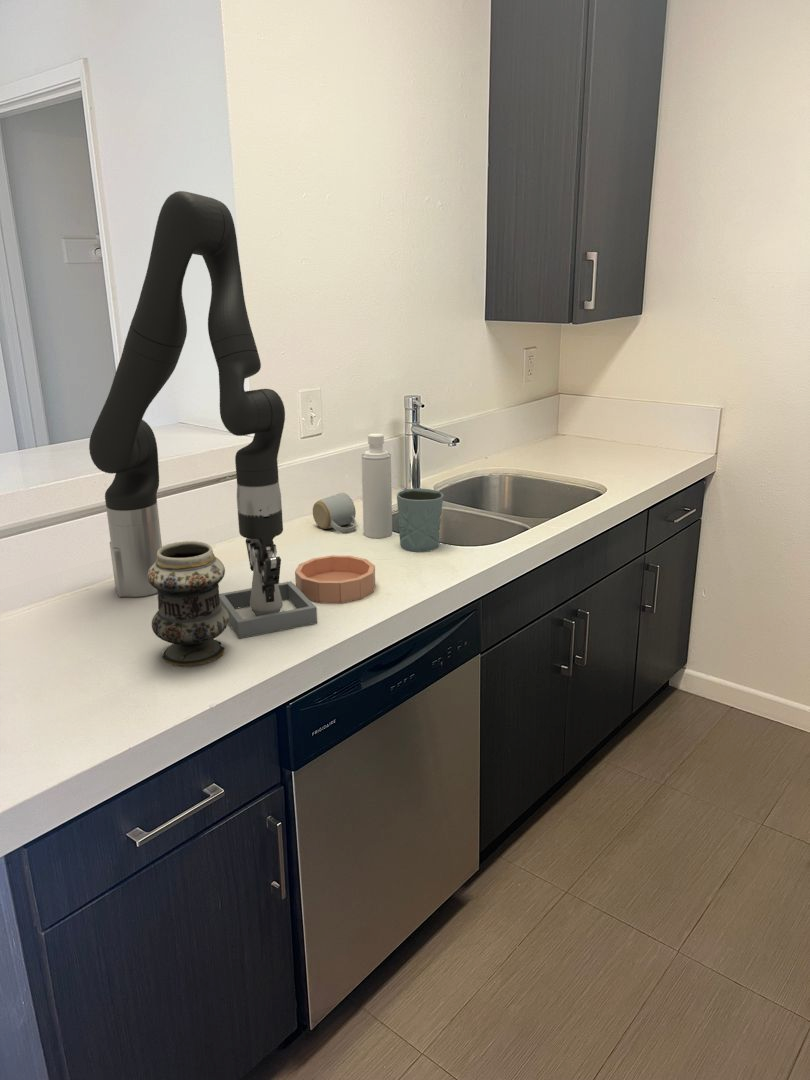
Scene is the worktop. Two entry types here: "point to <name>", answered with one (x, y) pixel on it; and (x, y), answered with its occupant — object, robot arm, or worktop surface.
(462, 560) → the worktop surface
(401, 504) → the drinking glass
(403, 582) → the worktop surface
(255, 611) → the salt shaker
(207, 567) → the apothecary jar
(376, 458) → the grey bottle
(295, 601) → the tray
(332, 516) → the ceramic mug
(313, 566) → the terracotta bowl
